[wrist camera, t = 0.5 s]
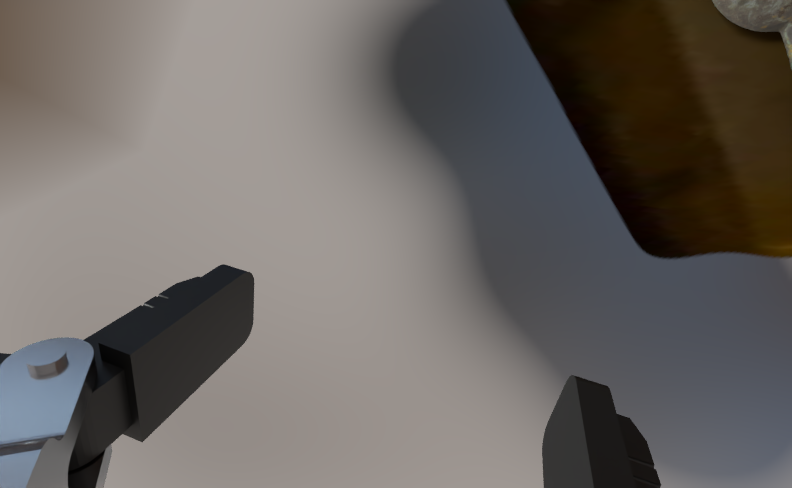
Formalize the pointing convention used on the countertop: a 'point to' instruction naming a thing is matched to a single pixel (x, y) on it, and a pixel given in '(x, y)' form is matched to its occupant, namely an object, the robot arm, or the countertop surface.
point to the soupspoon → (761, 17)
